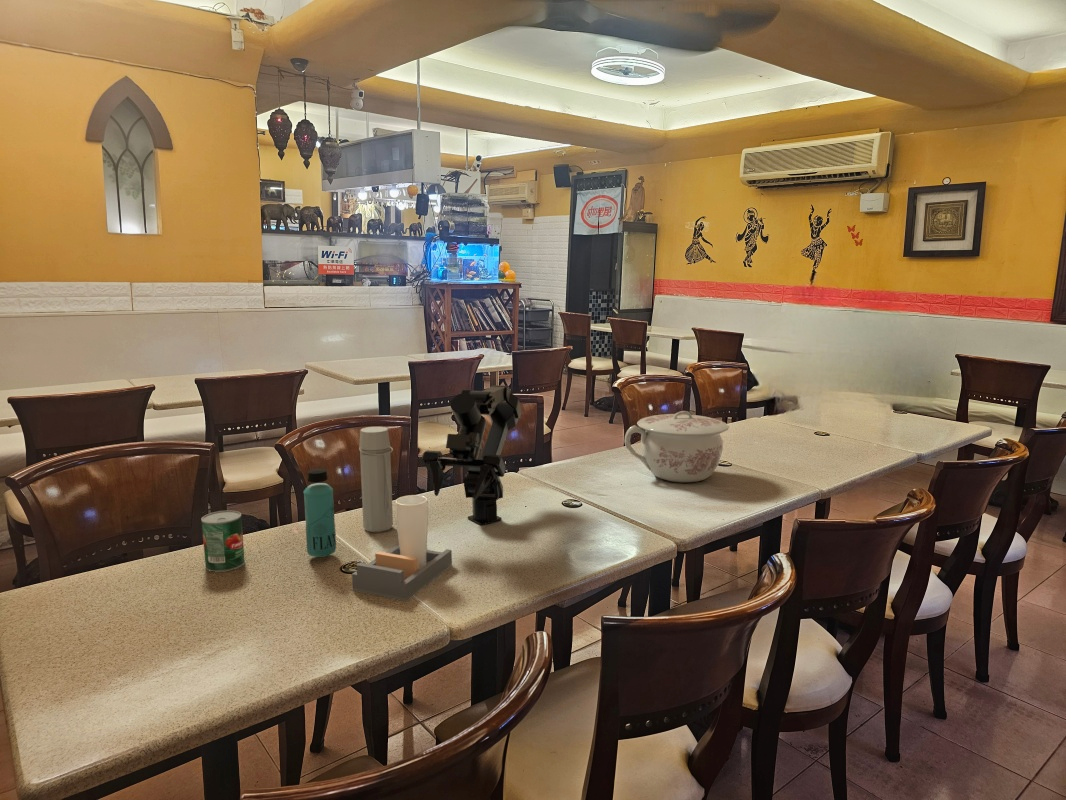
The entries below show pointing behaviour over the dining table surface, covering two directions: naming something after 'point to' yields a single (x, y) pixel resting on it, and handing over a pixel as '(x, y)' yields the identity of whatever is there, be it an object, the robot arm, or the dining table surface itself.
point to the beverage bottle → (319, 515)
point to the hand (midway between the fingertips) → (455, 496)
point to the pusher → (397, 562)
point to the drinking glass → (412, 526)
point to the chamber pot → (679, 445)
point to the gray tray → (399, 576)
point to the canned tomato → (223, 540)
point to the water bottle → (376, 478)
